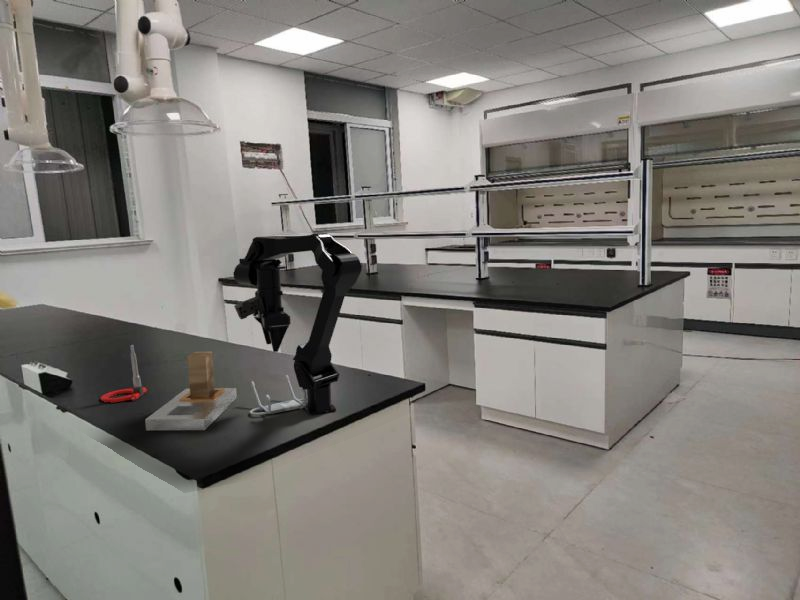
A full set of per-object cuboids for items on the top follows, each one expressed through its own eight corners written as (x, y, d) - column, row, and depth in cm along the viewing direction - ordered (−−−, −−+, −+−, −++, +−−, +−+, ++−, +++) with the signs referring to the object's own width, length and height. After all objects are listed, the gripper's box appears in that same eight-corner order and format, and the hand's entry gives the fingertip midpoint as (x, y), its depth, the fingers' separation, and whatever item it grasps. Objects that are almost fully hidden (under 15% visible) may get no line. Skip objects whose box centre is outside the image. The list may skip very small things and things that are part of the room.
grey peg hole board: (204, 430, 120) (203, 417, 120) (146, 430, 121) (145, 418, 120) (236, 397, 142) (236, 386, 142) (186, 397, 142) (186, 387, 142)
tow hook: (95, 405, 139) (135, 402, 140) (86, 352, 137) (128, 349, 138) (110, 394, 148) (148, 391, 149) (103, 344, 146) (142, 341, 147)
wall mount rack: (256, 421, 125) (254, 396, 124) (239, 405, 136) (238, 382, 135) (320, 407, 133) (319, 384, 132) (299, 394, 144) (298, 372, 143)
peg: (209, 407, 135) (205, 356, 133) (191, 407, 135) (187, 356, 133) (215, 401, 139) (212, 351, 137) (198, 402, 139) (194, 351, 137)
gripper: (231, 284, 143) (234, 343, 145) (241, 293, 126) (244, 360, 128) (274, 282, 147) (277, 339, 149) (289, 290, 130) (292, 354, 133)
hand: (272, 347), depth 140 cm, fingers open, 9 cm apart
